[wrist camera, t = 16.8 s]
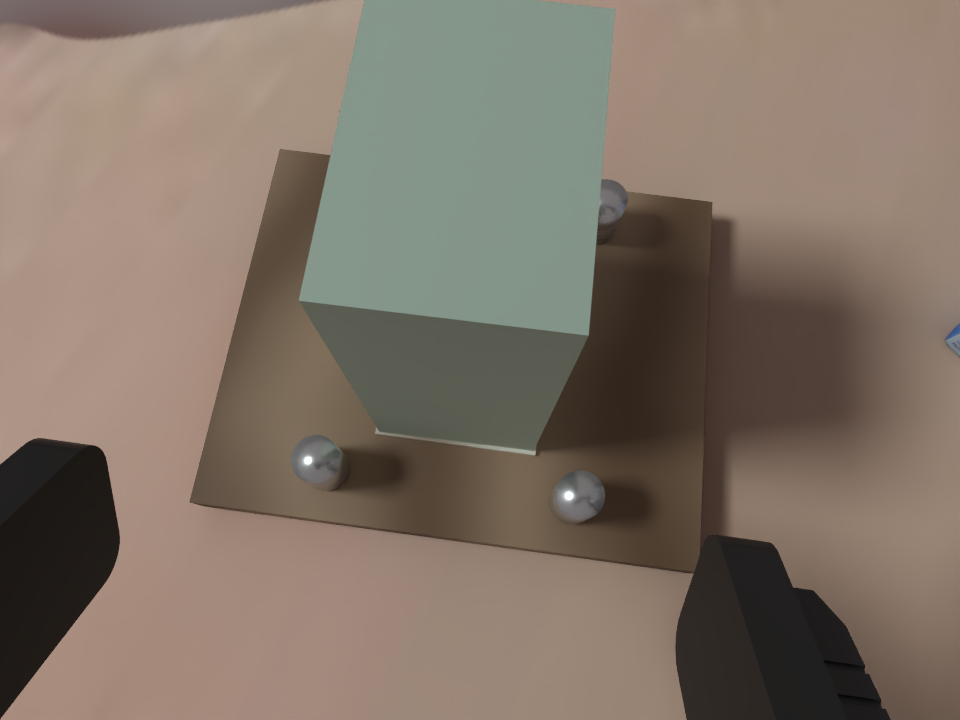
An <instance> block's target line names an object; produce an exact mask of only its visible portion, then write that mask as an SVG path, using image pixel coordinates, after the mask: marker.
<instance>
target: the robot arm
mask: <svg viewBox="0 0 960 720" xmlns="http://www.w3.org/2000/svg"><path fill="white" fill-rule="evenodd" d="M119 544H120V535H119V528H118V522H117V517H116V511H115V505H114V500H113V494H112V489H111V483H110V477H109V472H108V466H107V461H106V457H105V455H104V453H103V451H102V450H101V449H100V448H99V447H97V446H93V445H86V444H79V443H72V442H65V441H58V440H50V439H43V438H37V439H33V440H31V441H29V442H27V443H26V444H25V445H23V446H22V447H21V448H20V449H18V450H17V451H16V452H15V453H14V454H12V455H11V456H10V457H9V458H8V459H6V460H5V461H4V462H3V463H2V464H1V465H0V719H1V717H2V716H3V715H4V713H5V712H6V711H7V709H8V708H9V707H10V706H11V704H12V703H13V702H14V700H15V699H16V698H17V697H18V695H19V694H20V693H21V691H22V690H23V689H24V687H25V686H26V685H27V684H28V682H29V681H30V680H31V678H32V677H33V676H34V674H35V673H36V672H37V671H38V669H39V668H40V667H41V665H42V664H43V663H44V662H45V660H46V659H47V658H48V656H49V655H50V654H51V652H52V651H53V650H54V649H55V647H56V646H57V645H58V643H59V642H60V641H61V639H62V638H63V637H64V636H65V634H66V633H67V632H68V630H69V629H70V628H71V627H72V625H73V624H74V623H75V621H76V620H77V619H78V617H79V616H80V615H81V614H82V612H83V611H84V610H85V608H86V607H87V606H88V605H89V603H90V602H91V601H92V599H93V598H94V597H95V595H96V594H97V593H98V592H99V590H100V589H101V588H102V586H103V585H104V584H105V582H106V581H107V579H108V578H109V576H110V574H111V572H112V570H113V568H114V565H115V562H116V559H117V556H118V551H119ZM676 664H677V671H678V676H679V682H680V687H681V692H682V697H683V703H684V708H685V713H686V718H687V720H890V718H889V715H888V713H887V711H886V709H882V708H881V699H880V697H879V694H878V692H877V690H876V688H875V686H874V684H873V682H872V680H871V678H870V676H869V674H865V671H864V668H865V665H864V663H863V661H862V659H861V657H860V654H859V652H858V650H857V648H856V646H855V644H854V642H853V640H852V638H851V636H850V633H849V631H848V629H847V627H846V626H845V625H844V623H843V622H842V621H841V620H840V619H839V618H838V617H837V616H836V615H835V614H834V613H833V611H832V610H831V609H830V608H829V607H828V606H827V605H826V604H825V603H824V602H823V601H822V599H821V598H820V597H819V596H818V595H817V594H816V593H815V592H814V591H813V590H806V589H799V588H793V586H792V584H791V582H790V579H789V577H788V574H787V572H786V570H785V567H784V565H783V562H782V560H781V558H780V555H779V553H778V551H777V549H776V548H775V546H774V545H773V544H772V543H769V542H763V541H756V540H749V539H742V538H735V537H727V536H720V535H713V534H712V535H710V536H708V537H707V539H706V540H705V542H704V544H703V547H702V550H701V553H700V556H699V559H698V562H697V565H696V568H695V571H694V574H693V577H692V580H691V583H690V586H689V589H688V592H687V595H686V598H685V602H684V605H683V608H682V611H681V614H680V617H679V621H678V626H677V633H676Z"/></svg>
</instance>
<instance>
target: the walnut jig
mask: <svg viewBox="0 0 960 720" xmlns="http://www.w3.org/2000/svg"><path fill="white" fill-rule="evenodd" d="M329 160H330V155H324V154H316V153H308V152H299V151H291V150H283V149H280V151H279V155H278V159H277V163H276V167H275V171H274V175H273V179H272V182H271V186H270V190H269V194H268V198H267V202H266V206H265V210H264V214H263V218H262V221H261V225H260V229H259V233H258V237H257V241H256V245H255V249H254V253H253V257H252V260H251V264H250V268H249V272H248V276H247V280H246V284H245V288H244V292H243V296H242V299H241V303H240V307H239V311H238V315H237V319H236V323H235V327H234V331H233V335H232V338H231V342H230V346H229V350H228V354H227V358H226V362H225V366H224V370H223V374H222V378H221V381H220V385H219V389H218V393H217V397H216V401H215V405H214V409H213V413H212V417H211V420H210V424H209V428H208V432H207V436H206V440H205V444H204V448H203V452H202V456H201V459H200V463H199V467H198V471H197V475H196V479H195V483H194V487H193V491H192V495H191V498H190V502H191V503H194V504H198V505H201V506H207V507H214V508H221V509H228V510H236V511H243V512H250V513H257V514H265V515H272V516H279V517H286V518H294V519H301V520H308V521H315V522H323V523H330V524H337V525H344V526H352V527H359V528H366V529H373V530H381V531H388V532H395V533H402V534H410V535H417V536H424V537H431V538H439V539H446V540H453V541H460V542H468V543H475V544H482V545H489V546H497V547H504V548H511V549H518V550H526V551H533V552H540V553H547V554H555V555H562V556H569V557H576V558H584V559H591V560H598V561H605V562H613V563H620V564H627V565H634V566H642V567H649V568H656V569H663V570H671V571H678V572H685V573H694V571H695V568H696V565H697V562H698V559H699V556H700V537H701V509H702V480H703V452H704V423H705V395H706V366H707V338H708V309H709V281H710V252H711V224H712V202H707V201H699V200H691V199H683V198H675V197H666V196H658V195H650V194H642V193H634V192H626V190H625V189H624V188H623V186H622V185H620V184H619V183H617V182H615V181H613V180H608V179H603V180H601V190H600V202H599V215H598V227H597V239H596V252H595V264H594V276H593V289H592V301H591V313H590V325H589V336H588V338H587V340H586V342H585V344H584V346H583V349H582V351H581V353H580V355H579V357H578V359H577V361H576V363H575V365H574V367H573V369H572V371H571V374H570V376H569V378H568V380H567V382H566V384H565V386H564V388H563V390H562V392H561V394H560V397H559V399H558V401H557V403H556V405H555V407H554V409H553V411H552V413H551V415H550V417H549V419H548V422H547V424H546V426H545V428H544V430H543V432H542V434H541V436H540V438H539V440H538V442H537V445H536V447H535V449H534V451H530V450H522V449H514V448H506V447H498V446H490V445H482V444H474V443H466V442H458V441H450V440H442V439H434V438H426V437H418V436H410V435H402V434H394V433H386V432H379V430H378V429H377V427H376V426H375V424H374V422H373V421H372V419H371V417H370V416H369V414H368V413H367V411H366V409H365V408H364V406H363V404H362V403H361V401H360V400H359V398H358V396H357V395H356V393H355V391H354V390H353V388H352V387H351V385H350V383H349V382H348V380H347V378H346V377H345V375H344V374H343V372H342V370H341V369H340V367H339V365H338V364H337V362H336V361H335V359H334V357H333V356H332V354H331V352H330V351H329V349H328V348H327V346H326V344H325V343H324V341H323V339H322V338H321V336H320V335H319V333H318V331H317V330H316V328H315V326H314V325H313V323H312V322H311V320H310V318H309V317H308V315H307V314H306V312H305V310H304V309H303V307H302V305H301V304H300V302H299V297H300V292H301V287H302V283H303V278H304V274H305V269H306V265H307V260H308V256H309V251H310V246H311V242H312V237H313V233H314V228H315V224H316V219H317V215H318V210H319V206H320V201H321V196H322V192H323V187H324V183H325V178H326V174H327V169H328V165H329Z"/></svg>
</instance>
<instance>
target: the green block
mask: <svg viewBox="0 0 960 720" xmlns="http://www.w3.org/2000/svg"><path fill="white" fill-rule="evenodd" d="M614 17H615V9H611V8H601V7H592V6H583V5H574V4H564V3H555V2H546V1H537V0H365V1H364V5H363V10H362V14H361V19H360V23H359V28H358V33H357V37H356V42H355V46H354V51H353V55H352V60H351V64H350V69H349V73H348V78H347V83H346V87H345V92H344V96H343V101H342V105H341V110H340V114H339V119H338V124H337V128H336V133H335V137H334V142H333V146H332V151H331V155H330V160H329V165H328V169H327V174H326V178H325V183H324V187H323V192H322V196H321V201H320V206H319V210H318V215H317V219H316V224H315V228H314V233H313V237H312V242H311V246H310V251H309V256H308V260H307V265H306V269H305V274H304V278H303V283H302V287H301V292H300V297H299V302H300V304H301V305H302V307H303V309H304V310H305V312H306V314H307V315H308V317H309V318H310V320H311V322H312V323H313V325H314V326H315V328H316V330H317V331H318V333H319V335H320V336H321V338H322V339H323V341H324V343H325V344H326V346H327V348H328V349H329V351H330V352H331V354H332V356H333V357H334V359H335V361H336V362H337V364H338V365H339V367H340V369H341V370H342V372H343V374H344V375H345V377H346V378H347V380H348V382H349V383H350V385H351V387H352V388H353V390H354V391H355V393H356V395H357V396H358V398H359V400H360V401H361V403H362V404H363V406H364V408H365V409H366V411H367V413H368V414H369V416H370V417H371V419H372V421H373V422H374V424H375V426H376V427H377V429H378V430H379V432H386V433H394V434H402V435H410V436H418V437H426V438H434V439H442V440H450V441H458V442H466V443H474V444H482V445H490V446H498V447H506V448H514V449H522V450H530V451H534V449H535V447H536V445H537V442H538V440H539V438H540V436H541V434H542V432H543V430H544V428H545V426H546V424H547V422H548V419H549V417H550V415H551V413H552V411H553V409H554V407H555V405H556V403H557V401H558V399H559V397H560V394H561V392H562V390H563V388H564V386H565V384H566V382H567V380H568V378H569V376H570V374H571V371H572V369H573V367H574V365H575V363H576V361H577V359H578V357H579V355H580V353H581V351H582V349H583V346H584V344H585V342H586V340H587V338H588V336H589V325H590V313H591V301H592V289H593V276H594V264H595V252H596V239H597V227H598V215H599V202H600V190H601V178H602V165H603V153H604V141H605V128H606V116H607V104H608V91H609V79H610V67H611V54H612V42H613V30H614Z"/></svg>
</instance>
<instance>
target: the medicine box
mask: <svg viewBox="0 0 960 720" xmlns="http://www.w3.org/2000/svg"><path fill="white" fill-rule="evenodd" d="M945 342H946V344H947V346H948V347H949V348H950V349H951V350H952V351H953V352H954V353H956V354H957V355H958V356H959V357H960V324H959V325H958V326H957V327H956V328H954V330H953V331H952V332H951V333H950V334H949V335H948V336H947V337H946V339H945Z"/></svg>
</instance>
